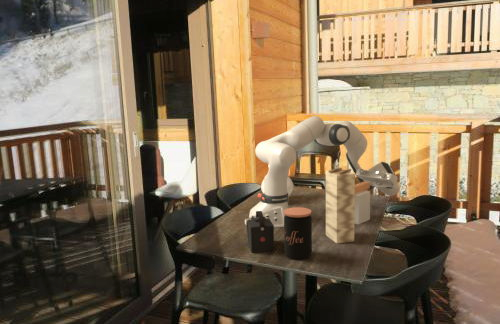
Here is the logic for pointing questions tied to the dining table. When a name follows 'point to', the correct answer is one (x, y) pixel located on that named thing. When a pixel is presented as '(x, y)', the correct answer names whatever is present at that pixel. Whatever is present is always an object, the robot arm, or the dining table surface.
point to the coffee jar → (298, 233)
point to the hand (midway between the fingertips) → (368, 171)
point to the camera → (260, 233)
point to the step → (362, 207)
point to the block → (362, 186)
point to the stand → (340, 205)
